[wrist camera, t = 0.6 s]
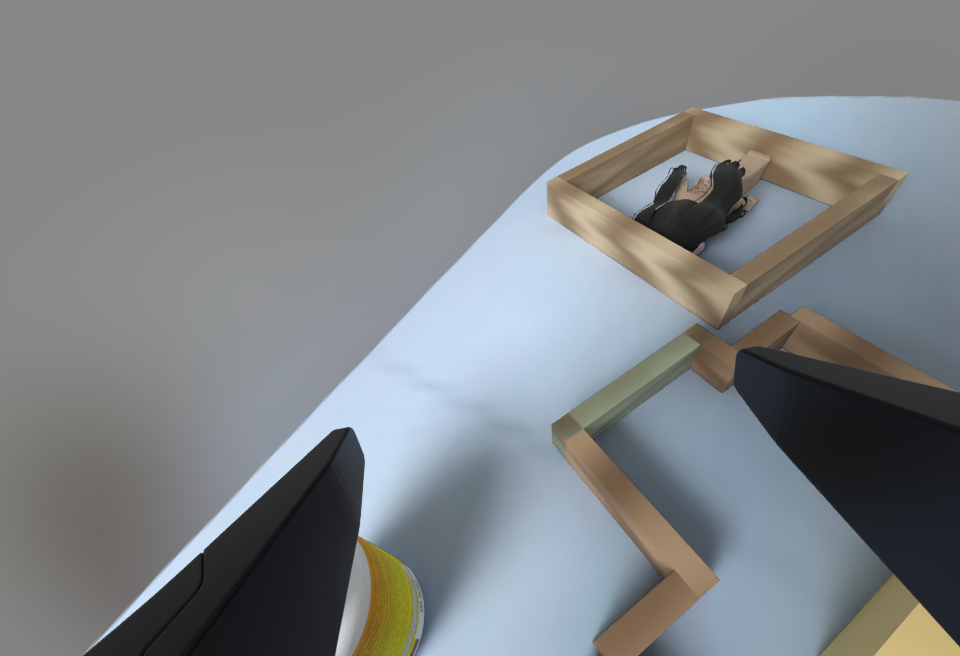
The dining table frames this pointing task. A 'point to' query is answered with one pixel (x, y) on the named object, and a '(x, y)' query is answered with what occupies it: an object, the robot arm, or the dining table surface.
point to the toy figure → (704, 201)
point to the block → (893, 628)
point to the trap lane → (628, 504)
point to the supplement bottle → (380, 606)
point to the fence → (794, 163)
